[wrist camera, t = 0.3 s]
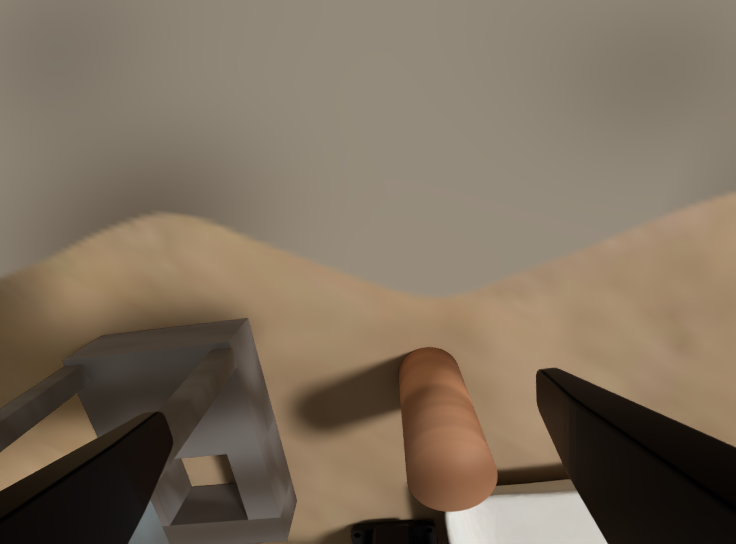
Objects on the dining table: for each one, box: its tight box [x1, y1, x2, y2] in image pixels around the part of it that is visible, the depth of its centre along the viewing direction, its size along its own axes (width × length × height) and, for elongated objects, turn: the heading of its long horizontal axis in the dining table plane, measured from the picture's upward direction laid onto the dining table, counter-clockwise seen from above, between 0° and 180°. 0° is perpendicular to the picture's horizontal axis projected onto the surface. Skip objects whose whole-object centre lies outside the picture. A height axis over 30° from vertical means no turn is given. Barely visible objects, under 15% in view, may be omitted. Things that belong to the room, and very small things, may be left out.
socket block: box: [0, 318, 297, 544], centre depth 19 cm, size 16×12×13 cm
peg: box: [398, 347, 498, 512], centre depth 20 cm, size 4×4×8 cm
